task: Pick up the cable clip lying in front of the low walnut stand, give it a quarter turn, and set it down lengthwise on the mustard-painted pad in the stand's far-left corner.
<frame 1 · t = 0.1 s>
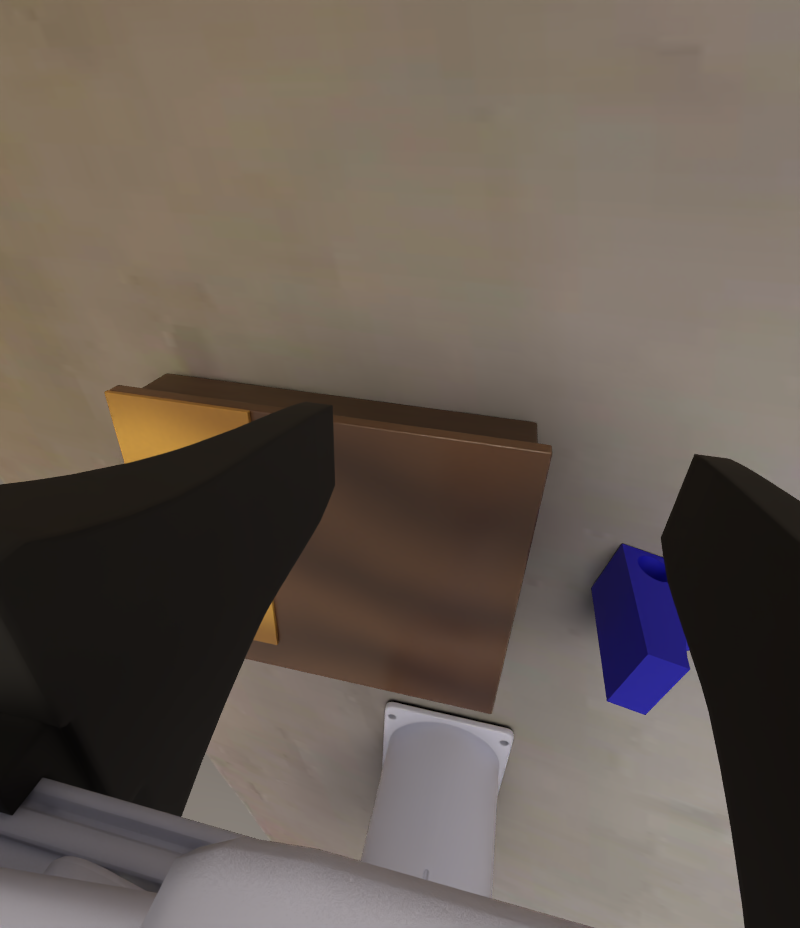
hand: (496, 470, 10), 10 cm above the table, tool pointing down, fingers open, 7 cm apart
walnut stand: (346, 522, 25), on the table
cable clip: (741, 596, 23), on the table
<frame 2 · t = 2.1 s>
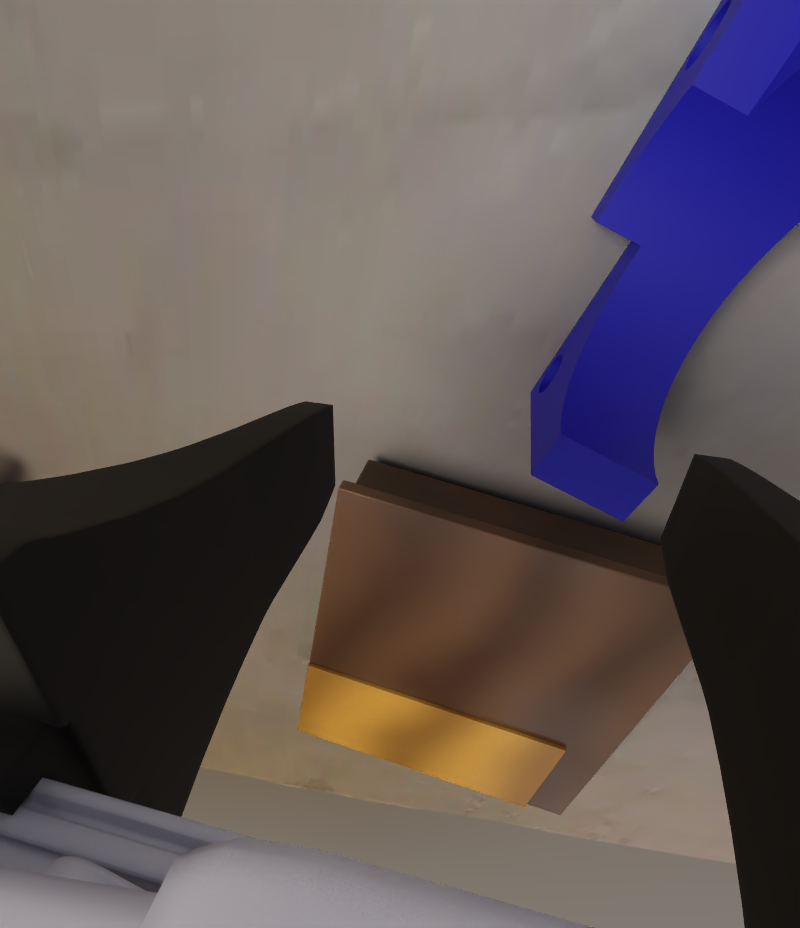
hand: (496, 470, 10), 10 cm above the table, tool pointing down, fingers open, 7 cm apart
walnut stand: (475, 620, 26), on the table
cable clip: (651, 249, 16), on the table
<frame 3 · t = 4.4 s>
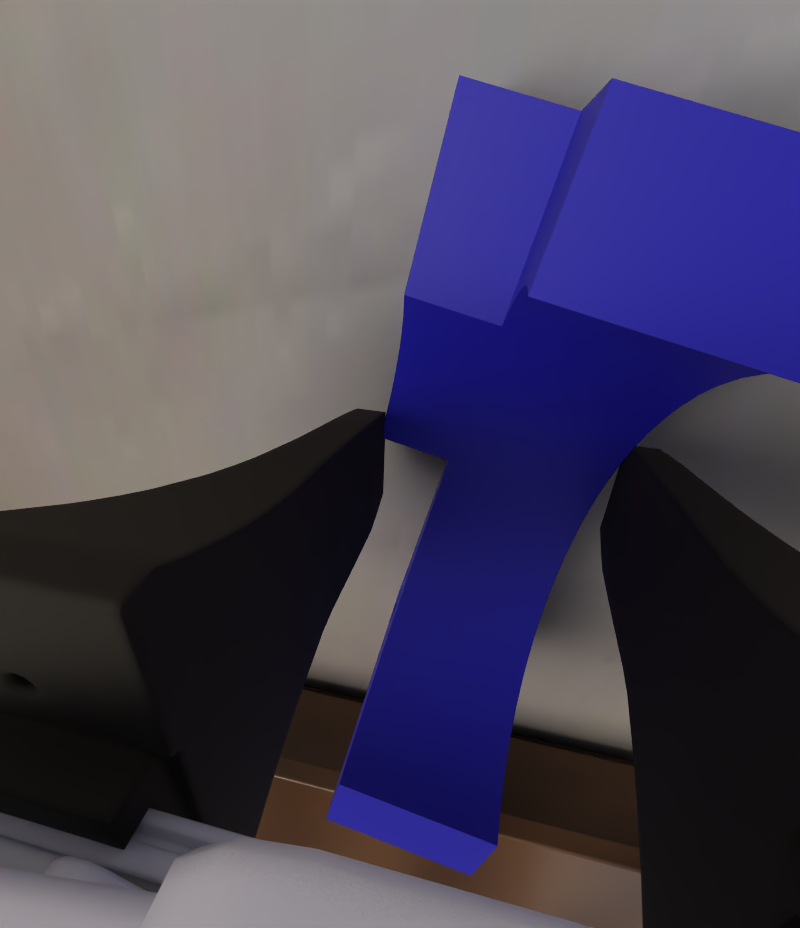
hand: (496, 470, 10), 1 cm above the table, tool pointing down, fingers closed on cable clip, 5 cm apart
walnut stand: (424, 820, 21), on the table
cable clip: (490, 434, 12), on the table, touching gripper
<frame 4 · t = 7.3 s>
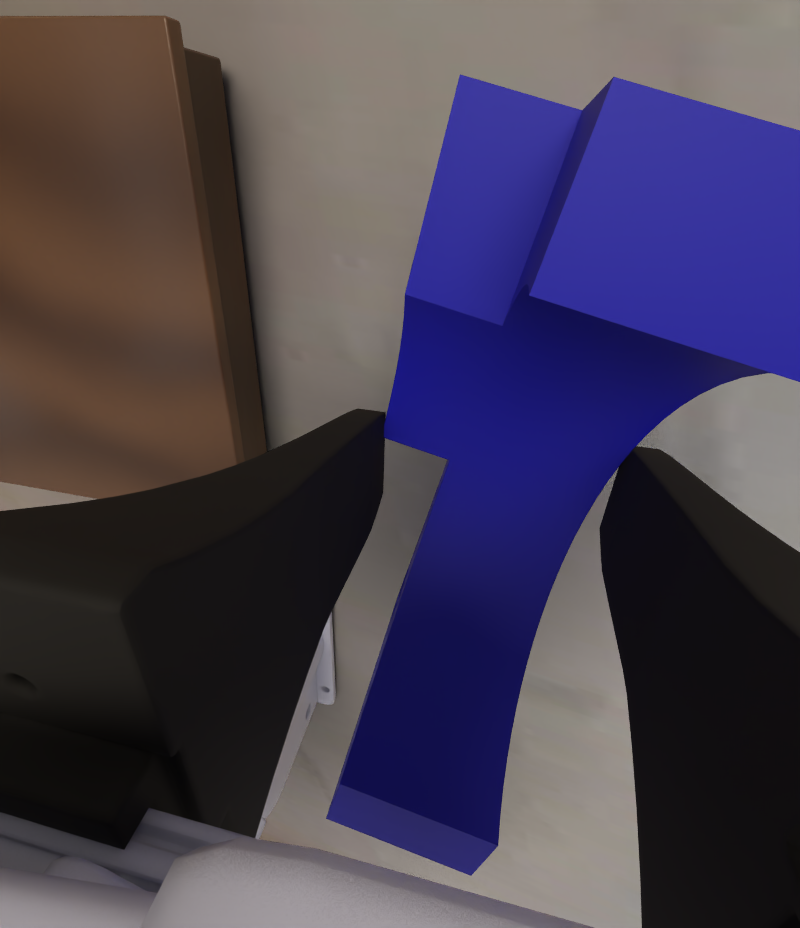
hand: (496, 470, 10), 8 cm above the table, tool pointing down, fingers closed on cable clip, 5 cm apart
walnut stand: (66, 286, 20), on the table
cable clip: (490, 434, 12), point 7 cm above the table, touching gripper
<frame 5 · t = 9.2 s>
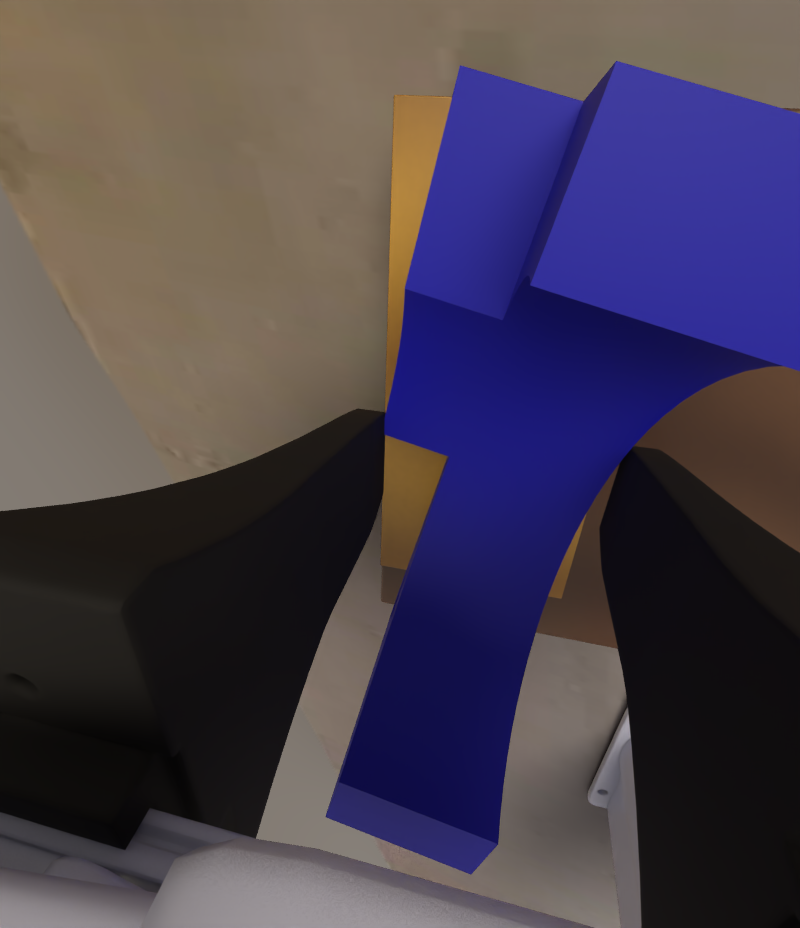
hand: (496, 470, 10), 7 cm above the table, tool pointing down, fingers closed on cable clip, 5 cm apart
walnut stand: (672, 404, 16), on the table
cable clip: (490, 431, 12), point 6 cm above the table, touching gripper
when the fingers open (5 cm above the table, at t = 10.4 s): cable clip stays where it is, resting on walnut stand.
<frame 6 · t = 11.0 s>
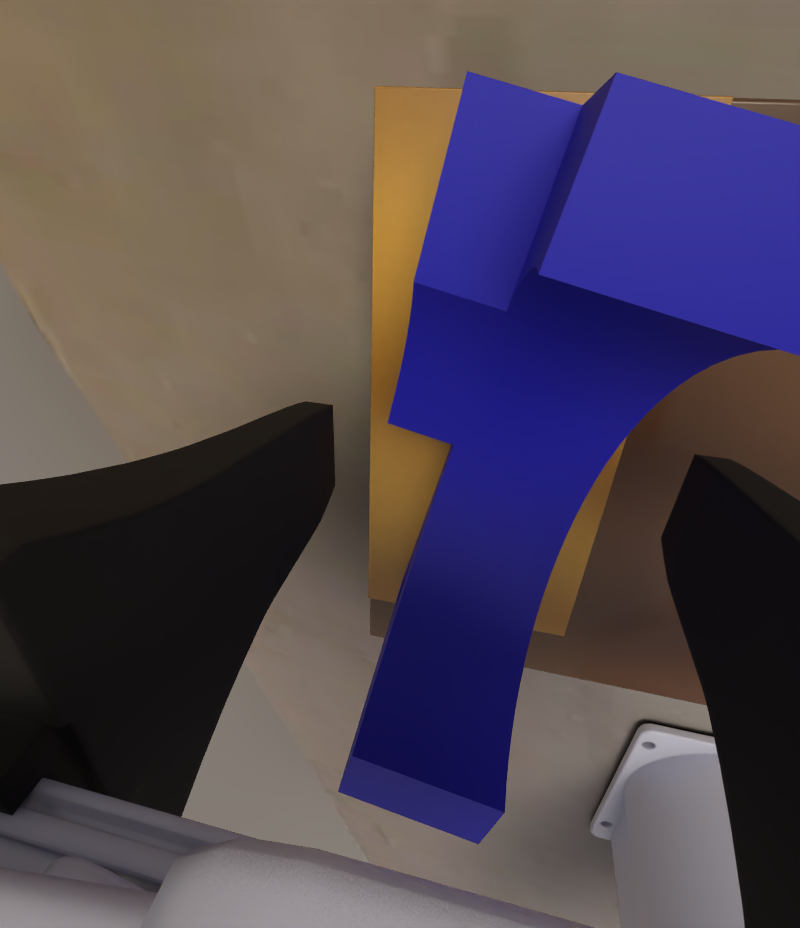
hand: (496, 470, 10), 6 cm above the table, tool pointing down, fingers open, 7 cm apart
walnut stand: (684, 425, 15), on the table
cable clip: (492, 421, 12), point 4 cm above the table, touching walnut stand
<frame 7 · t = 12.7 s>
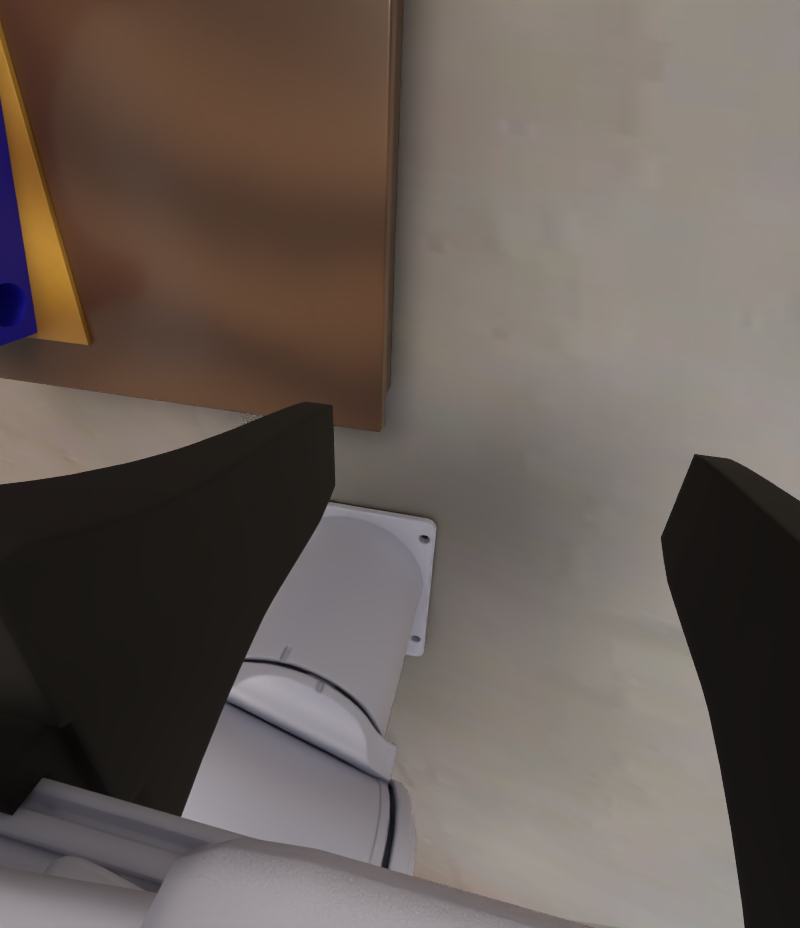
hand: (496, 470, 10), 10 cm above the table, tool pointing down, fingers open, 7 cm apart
walnut stand: (182, 172, 18), on the table
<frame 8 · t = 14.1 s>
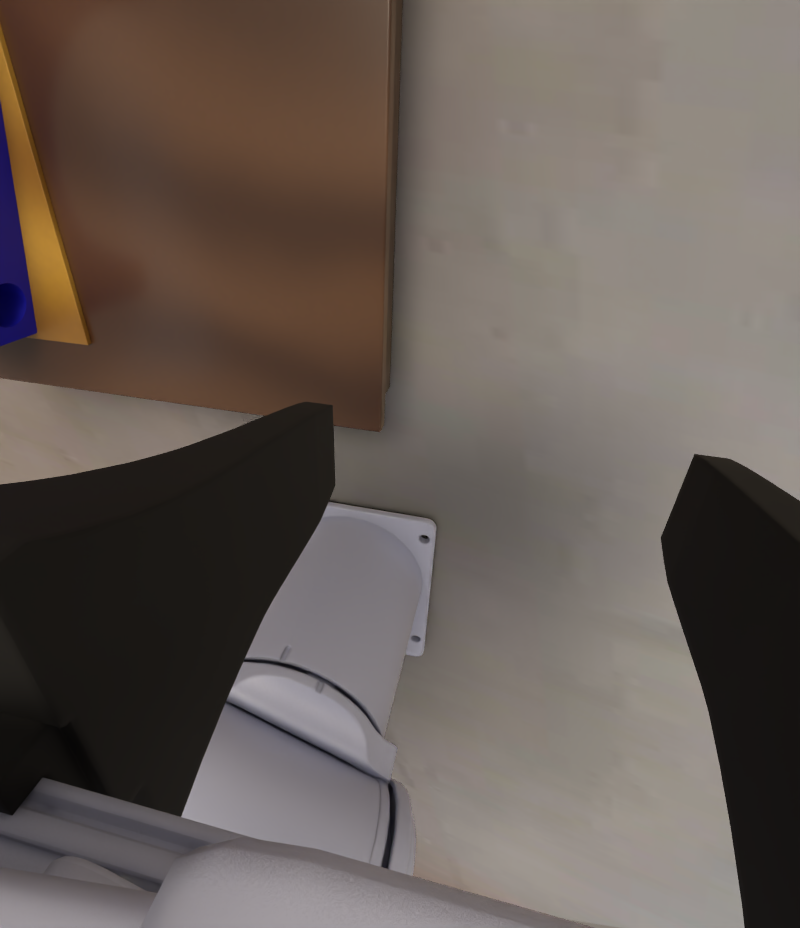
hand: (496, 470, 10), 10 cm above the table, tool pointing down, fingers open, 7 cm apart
walnut stand: (182, 172, 18), on the table
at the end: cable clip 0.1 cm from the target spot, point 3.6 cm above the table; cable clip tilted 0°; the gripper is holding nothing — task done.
